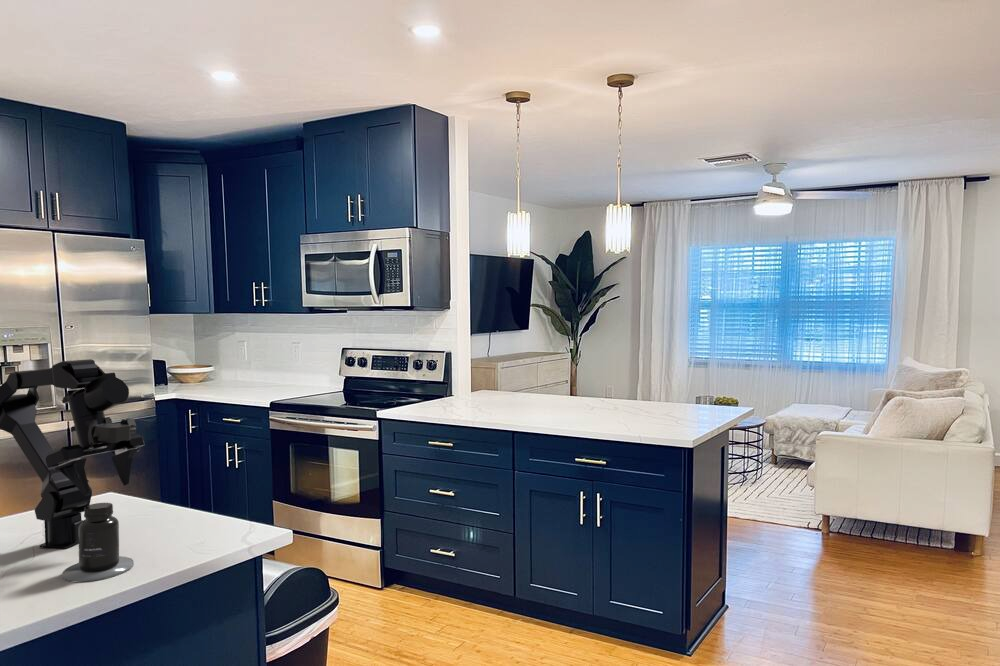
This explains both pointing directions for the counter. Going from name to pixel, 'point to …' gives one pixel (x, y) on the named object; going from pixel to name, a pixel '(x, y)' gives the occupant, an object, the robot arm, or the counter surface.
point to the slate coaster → (77, 575)
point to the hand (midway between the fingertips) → (107, 489)
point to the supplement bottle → (98, 538)
